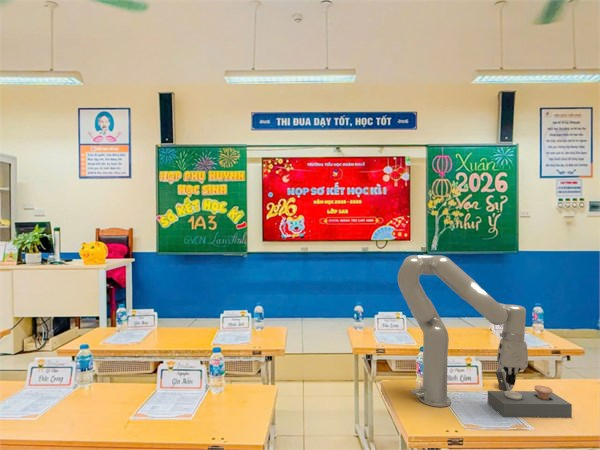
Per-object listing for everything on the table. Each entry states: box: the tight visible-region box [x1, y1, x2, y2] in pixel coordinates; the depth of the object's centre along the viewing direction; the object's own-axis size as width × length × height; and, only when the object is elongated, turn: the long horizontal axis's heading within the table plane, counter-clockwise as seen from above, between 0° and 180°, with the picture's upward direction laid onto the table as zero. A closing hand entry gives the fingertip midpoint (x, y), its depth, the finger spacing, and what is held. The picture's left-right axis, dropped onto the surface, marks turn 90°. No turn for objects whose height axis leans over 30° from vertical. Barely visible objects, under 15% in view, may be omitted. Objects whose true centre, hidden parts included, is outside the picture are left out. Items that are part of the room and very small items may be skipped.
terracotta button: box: [534, 385, 553, 400], centre depth 155 cm, size 6×6×5 cm
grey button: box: [504, 390, 522, 400], centre depth 155 cm, size 6×6×5 cm
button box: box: [487, 390, 573, 419], centre depth 155 cm, size 26×12×5 cm, turn 92°
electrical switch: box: [495, 367, 515, 391], centre depth 177 cm, size 9×5×9 cm, turn 141°
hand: (510, 383), depth 155 cm, fingers closed
